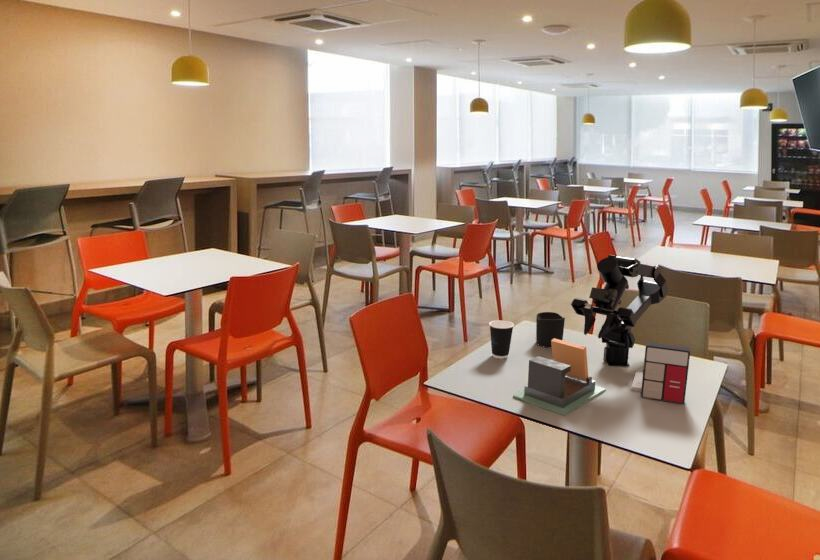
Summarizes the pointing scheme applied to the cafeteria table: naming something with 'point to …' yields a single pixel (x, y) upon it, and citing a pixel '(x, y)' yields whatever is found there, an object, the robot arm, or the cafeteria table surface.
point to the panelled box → (665, 372)
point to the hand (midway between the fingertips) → (591, 335)
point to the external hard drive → (637, 382)
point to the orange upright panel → (571, 358)
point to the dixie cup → (500, 338)
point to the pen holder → (549, 328)
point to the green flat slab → (557, 409)
